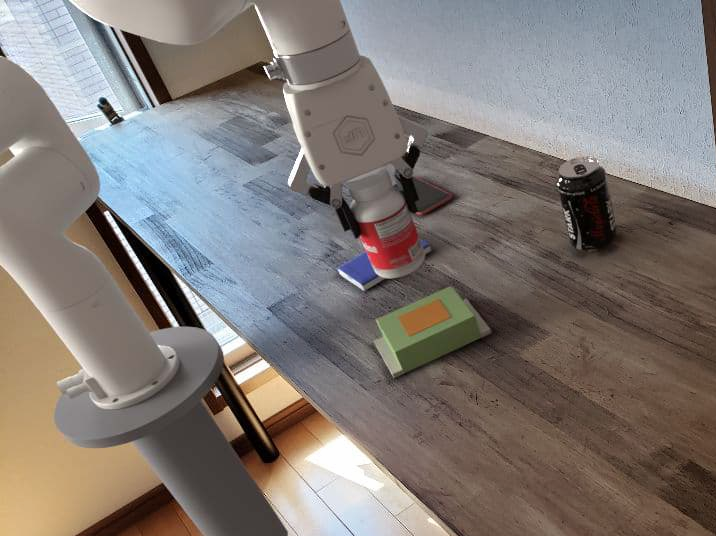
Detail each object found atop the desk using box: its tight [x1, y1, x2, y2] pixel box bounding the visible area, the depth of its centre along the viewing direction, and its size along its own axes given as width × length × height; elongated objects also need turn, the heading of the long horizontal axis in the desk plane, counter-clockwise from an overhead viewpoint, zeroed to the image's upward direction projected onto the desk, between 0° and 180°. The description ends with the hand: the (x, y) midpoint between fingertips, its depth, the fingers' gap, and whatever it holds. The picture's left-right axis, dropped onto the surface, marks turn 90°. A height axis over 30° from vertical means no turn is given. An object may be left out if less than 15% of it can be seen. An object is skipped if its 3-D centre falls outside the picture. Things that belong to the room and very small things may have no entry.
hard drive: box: [337, 238, 432, 292], centre depth 129 cm, size 2×8×12 cm
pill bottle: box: [345, 167, 426, 279], centre depth 93 cm, size 6×6×11 cm
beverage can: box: [556, 156, 618, 253], centre depth 117 cm, size 7×7×12 cm
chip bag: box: [373, 285, 492, 379], centre depth 111 cm, size 14×9×4 cm, turn 115°
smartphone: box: [392, 175, 453, 216], centre depth 144 cm, size 7×1×14 cm
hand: (383, 219), depth 93 cm, fingers closed on pill bottle, 6 cm apart
